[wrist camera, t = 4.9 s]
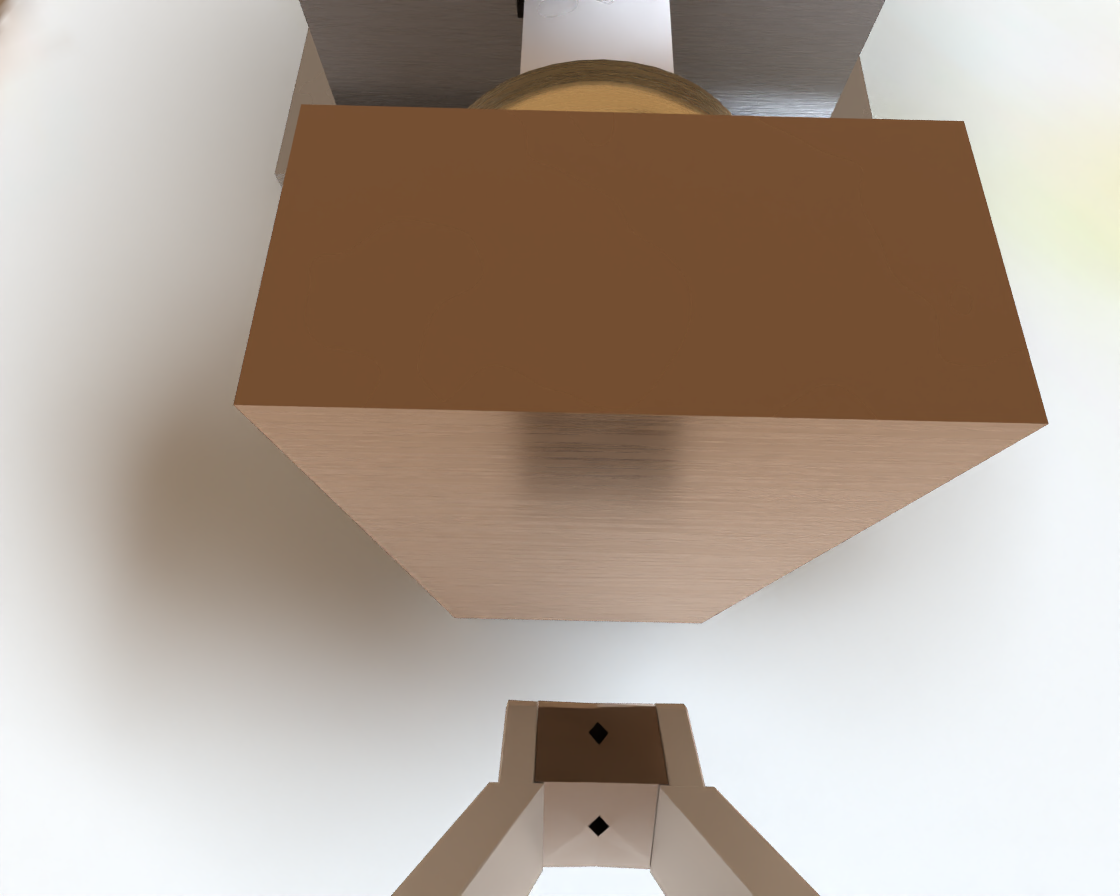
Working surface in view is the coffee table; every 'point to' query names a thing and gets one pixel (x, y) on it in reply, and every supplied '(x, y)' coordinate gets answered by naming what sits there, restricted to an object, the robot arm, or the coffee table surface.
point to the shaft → (627, 329)
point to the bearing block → (496, 43)
